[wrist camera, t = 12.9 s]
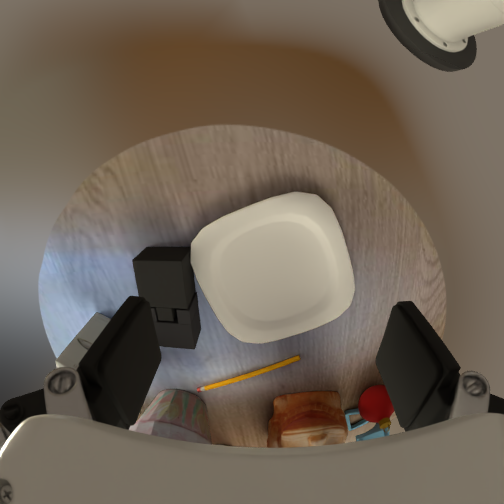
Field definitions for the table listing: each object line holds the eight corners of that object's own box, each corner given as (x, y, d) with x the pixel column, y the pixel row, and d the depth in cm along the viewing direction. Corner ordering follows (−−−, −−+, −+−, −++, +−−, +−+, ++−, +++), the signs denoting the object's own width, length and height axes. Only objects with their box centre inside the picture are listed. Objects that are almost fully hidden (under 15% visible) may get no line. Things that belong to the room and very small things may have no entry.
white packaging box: (137, 328, 37) (102, 387, 26) (132, 359, 40) (103, 414, 28) (96, 309, 37) (54, 359, 25) (95, 341, 39) (60, 391, 27)
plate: (177, 232, 32) (173, 237, 30) (322, 176, 29) (325, 177, 28) (237, 345, 38) (236, 353, 36) (359, 304, 35) (363, 311, 33)
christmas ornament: (377, 402, 43) (391, 441, 34) (347, 401, 42) (359, 443, 33) (396, 377, 40) (415, 417, 31) (366, 375, 40) (382, 419, 31)
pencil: (197, 387, 41) (196, 390, 41) (298, 354, 38) (298, 357, 37) (199, 390, 42) (199, 392, 41) (300, 357, 38) (300, 360, 38)
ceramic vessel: (351, 370, 39) (375, 444, 25) (327, 444, 49) (335, 498, 34) (266, 376, 40) (267, 457, 26) (266, 448, 49) (266, 504, 35)
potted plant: (113, 370, 41) (58, 479, 18) (214, 371, 40) (188, 519, 16) (150, 425, 48) (122, 518, 24) (237, 429, 46) (228, 538, 23)
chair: (384, 415, 45) (399, 458, 34) (347, 428, 46) (358, 473, 35) (384, 396, 42) (402, 444, 31) (344, 411, 44) (356, 461, 32)
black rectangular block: (146, 246, 33) (132, 260, 29) (191, 246, 33) (181, 261, 28) (155, 301, 36) (143, 319, 31) (196, 303, 35) (189, 322, 31)
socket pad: (154, 290, 35) (142, 307, 31) (197, 292, 35) (189, 310, 31) (161, 326, 37) (151, 345, 33) (201, 329, 37) (195, 349, 33)
